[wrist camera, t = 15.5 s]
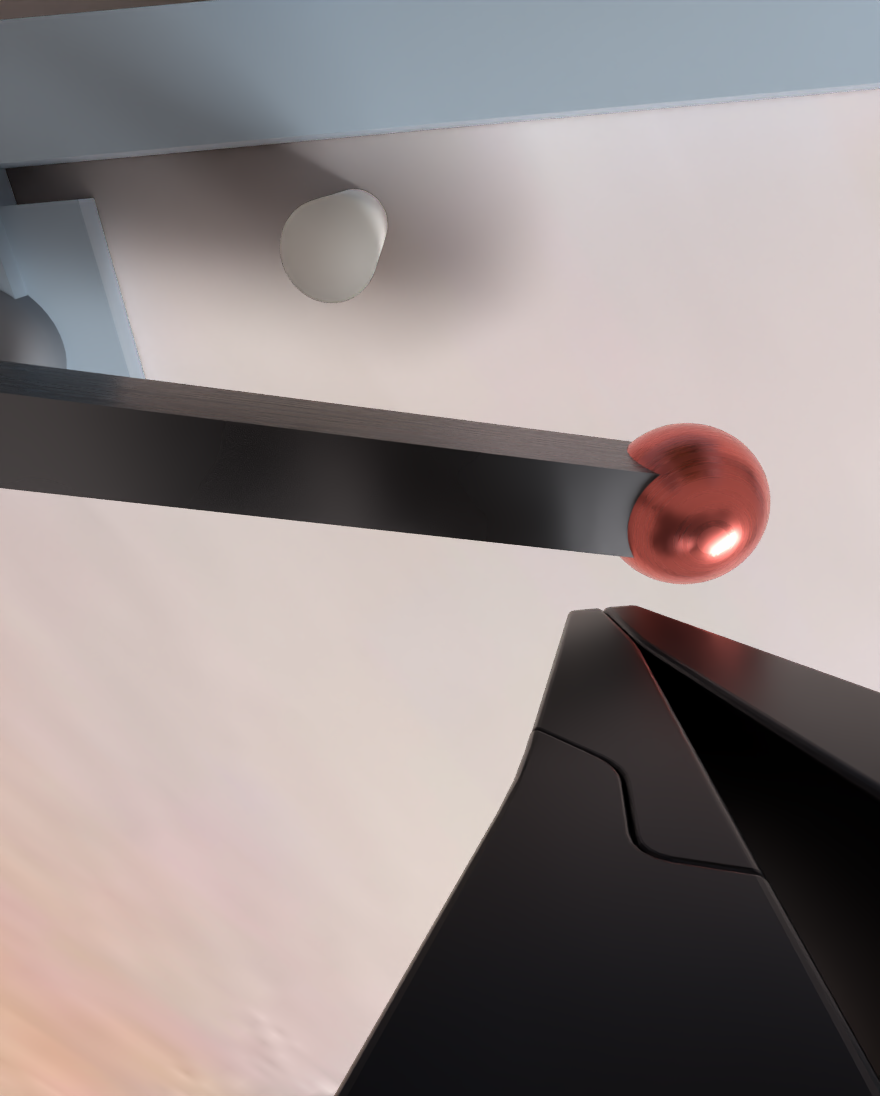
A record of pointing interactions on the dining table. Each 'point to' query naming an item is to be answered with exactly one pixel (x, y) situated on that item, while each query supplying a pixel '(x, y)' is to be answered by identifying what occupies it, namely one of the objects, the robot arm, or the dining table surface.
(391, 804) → the dining table surface
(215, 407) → the lock handle
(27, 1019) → the dining table surface
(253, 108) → the vise bed
